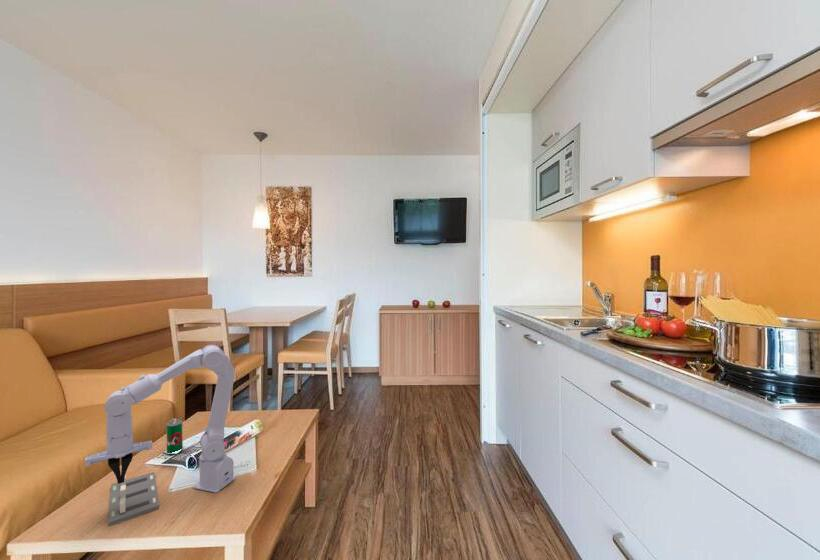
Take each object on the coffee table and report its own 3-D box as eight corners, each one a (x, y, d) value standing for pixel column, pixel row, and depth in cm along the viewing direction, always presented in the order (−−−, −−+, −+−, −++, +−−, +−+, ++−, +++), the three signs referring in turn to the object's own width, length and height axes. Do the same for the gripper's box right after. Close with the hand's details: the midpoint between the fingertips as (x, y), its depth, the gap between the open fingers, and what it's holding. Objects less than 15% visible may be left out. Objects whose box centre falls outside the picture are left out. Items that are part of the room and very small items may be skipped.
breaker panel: (154, 474, 117) (154, 462, 117) (158, 508, 100) (158, 494, 100) (111, 487, 110) (111, 474, 110) (108, 526, 93) (108, 511, 93)
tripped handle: (125, 506, 99) (125, 496, 99) (125, 511, 97) (125, 502, 97) (120, 508, 98) (119, 498, 98) (119, 513, 96) (119, 504, 96)
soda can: (185, 449, 134) (185, 418, 134) (175, 456, 129) (175, 424, 129) (173, 448, 135) (173, 417, 134) (163, 455, 129) (162, 423, 129)
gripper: (83, 448, 91) (85, 499, 91) (152, 431, 100) (153, 478, 100) (85, 438, 96) (87, 486, 97) (150, 423, 106) (151, 467, 106)
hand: (121, 481), depth 99 cm, fingers closed
